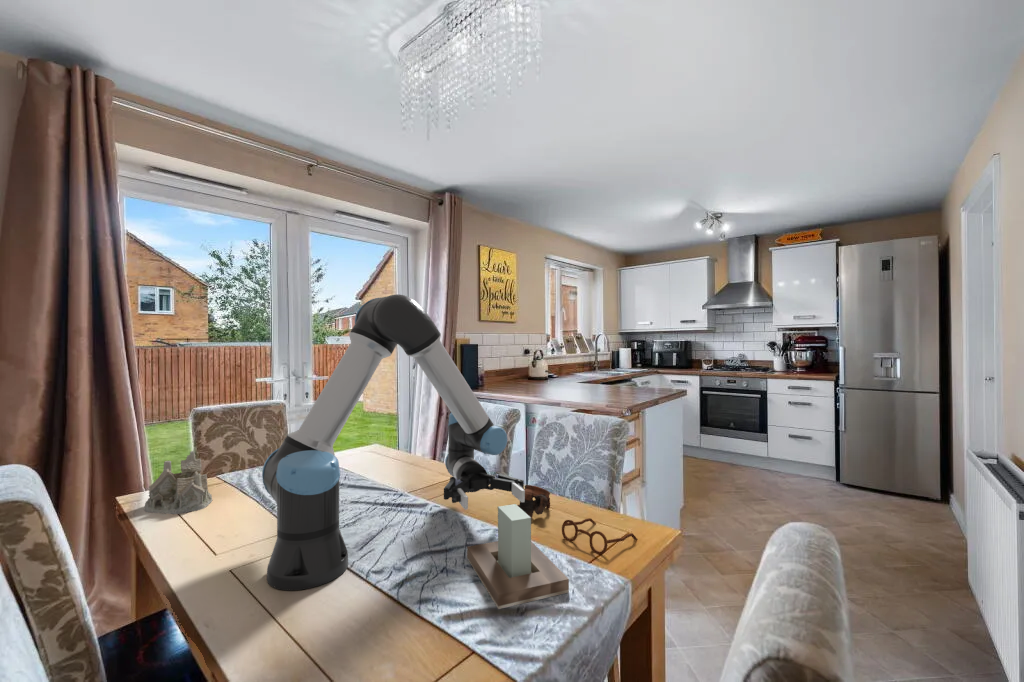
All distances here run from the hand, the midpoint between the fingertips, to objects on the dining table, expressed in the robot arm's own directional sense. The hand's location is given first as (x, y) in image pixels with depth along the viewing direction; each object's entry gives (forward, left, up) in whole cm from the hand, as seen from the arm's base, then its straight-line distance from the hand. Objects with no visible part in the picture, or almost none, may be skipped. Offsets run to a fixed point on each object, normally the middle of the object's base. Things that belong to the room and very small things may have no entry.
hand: (495, 499), depth 100 cm
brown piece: (+24, +6, -12) cm, 27 cm away
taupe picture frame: (-6, -10, -11) cm, 16 cm away
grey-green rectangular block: (-6, -10, -11) cm, 16 cm away
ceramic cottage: (-36, +91, -12) cm, 98 cm away
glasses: (+20, -16, -12) cm, 28 cm away
